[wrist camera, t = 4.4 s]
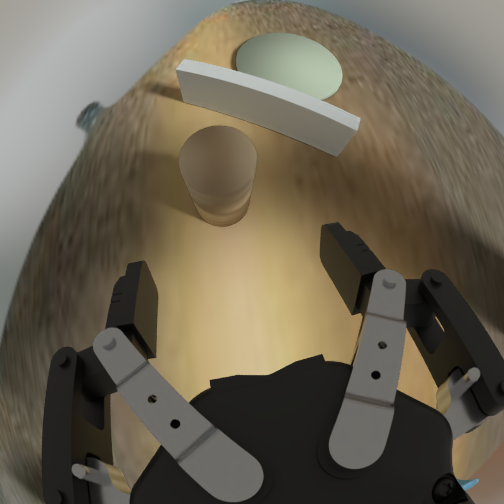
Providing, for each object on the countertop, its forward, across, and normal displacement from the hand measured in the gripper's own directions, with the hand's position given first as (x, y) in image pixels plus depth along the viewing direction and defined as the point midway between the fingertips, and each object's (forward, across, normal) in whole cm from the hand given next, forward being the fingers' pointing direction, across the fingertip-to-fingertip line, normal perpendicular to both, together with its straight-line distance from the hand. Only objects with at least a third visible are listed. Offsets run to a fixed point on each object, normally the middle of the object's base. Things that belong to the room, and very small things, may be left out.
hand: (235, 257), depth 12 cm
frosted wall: (+17, -5, -2) cm, 18 cm away
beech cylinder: (+12, 0, +3) cm, 12 cm away
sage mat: (+22, -10, -8) cm, 26 cm away
